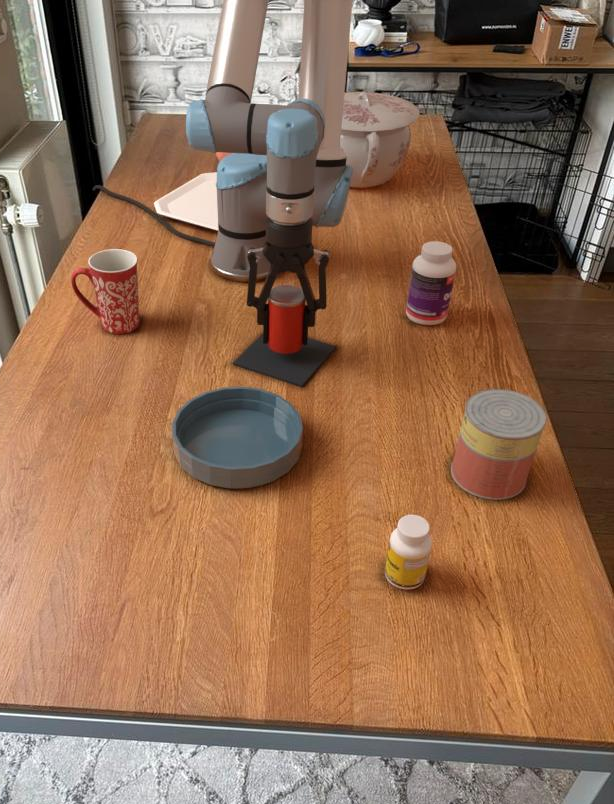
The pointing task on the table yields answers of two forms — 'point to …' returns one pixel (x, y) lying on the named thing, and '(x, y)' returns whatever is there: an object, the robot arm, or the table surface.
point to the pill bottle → (431, 284)
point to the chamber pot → (375, 135)
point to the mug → (113, 289)
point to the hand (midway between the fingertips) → (285, 340)
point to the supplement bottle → (408, 552)
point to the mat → (285, 361)
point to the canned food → (497, 443)
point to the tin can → (286, 319)
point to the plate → (192, 202)
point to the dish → (237, 437)
